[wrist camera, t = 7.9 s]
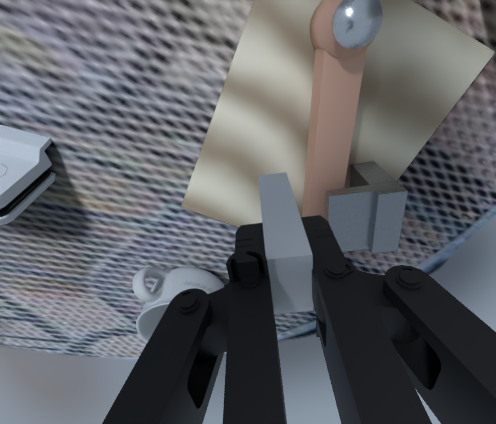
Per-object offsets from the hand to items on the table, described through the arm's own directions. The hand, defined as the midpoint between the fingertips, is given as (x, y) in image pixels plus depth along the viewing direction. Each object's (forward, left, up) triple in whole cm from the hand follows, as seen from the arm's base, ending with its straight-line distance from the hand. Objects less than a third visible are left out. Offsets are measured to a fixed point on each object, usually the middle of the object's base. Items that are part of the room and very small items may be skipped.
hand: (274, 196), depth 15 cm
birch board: (-1, +6, -15) cm, 16 cm away
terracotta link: (-3, +6, -14) cm, 16 cm away
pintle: (-10, +2, -10) cm, 15 cm away
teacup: (+23, -1, -16) cm, 28 cm away
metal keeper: (+3, +11, -15) cm, 19 cm away
